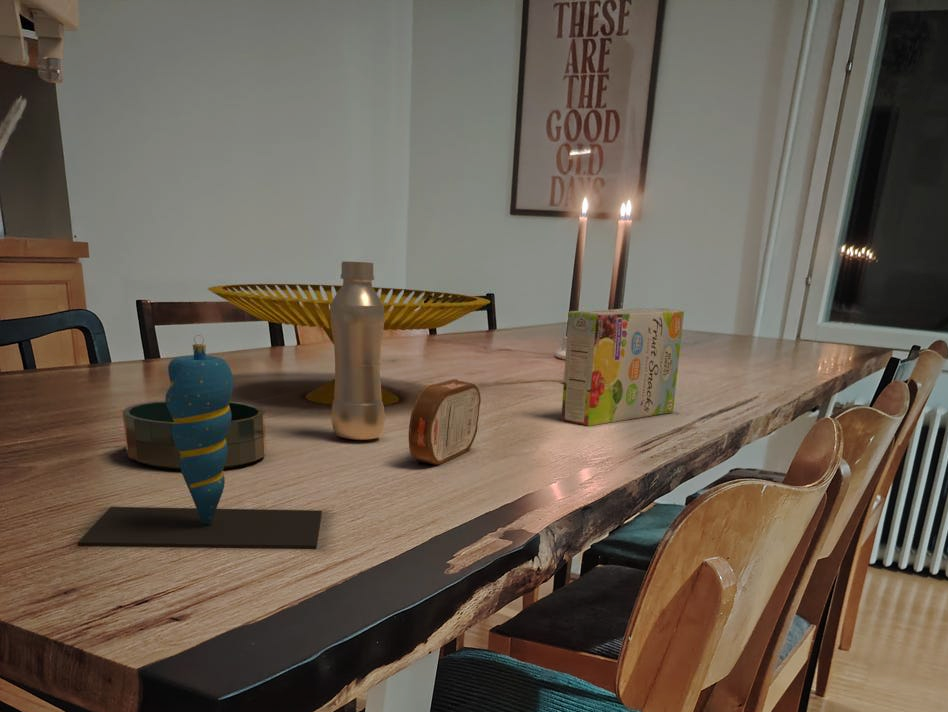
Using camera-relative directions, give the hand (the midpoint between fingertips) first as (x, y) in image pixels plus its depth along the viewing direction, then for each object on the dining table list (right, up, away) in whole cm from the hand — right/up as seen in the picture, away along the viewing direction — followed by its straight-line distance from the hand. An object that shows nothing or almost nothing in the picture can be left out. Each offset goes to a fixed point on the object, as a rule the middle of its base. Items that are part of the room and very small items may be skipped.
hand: (34, 73), depth 78 cm
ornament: (+15, -39, -2) cm, 42 cm away
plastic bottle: (+23, -24, +34) cm, 48 cm away
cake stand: (+18, -12, +61) cm, 65 cm away
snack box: (+58, -15, +58) cm, 84 cm away
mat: (+15, -39, -2) cm, 42 cm away
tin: (+34, -27, +27) cm, 51 cm away
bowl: (+7, -28, +21) cm, 36 cm away
